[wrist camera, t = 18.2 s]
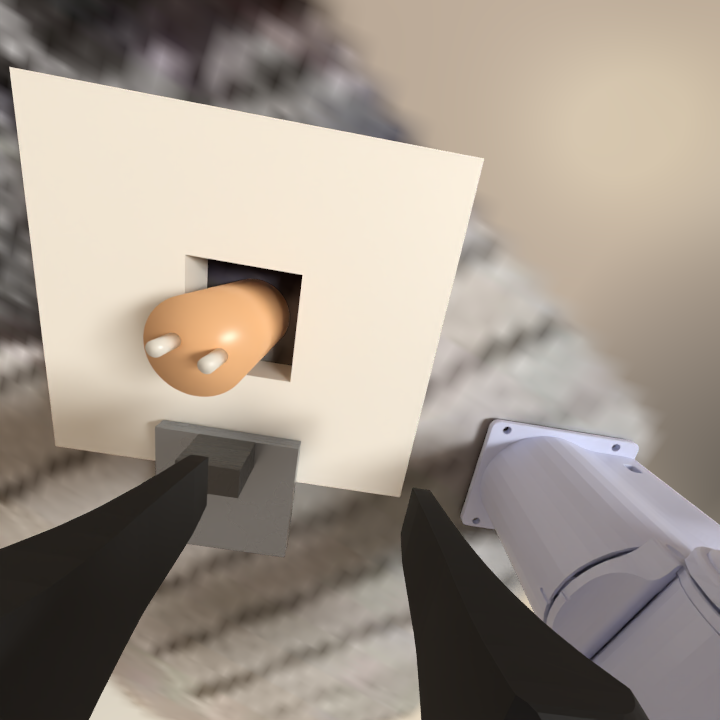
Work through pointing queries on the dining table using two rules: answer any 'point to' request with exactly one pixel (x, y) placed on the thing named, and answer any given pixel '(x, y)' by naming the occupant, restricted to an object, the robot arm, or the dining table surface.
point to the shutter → (237, 484)
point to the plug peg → (214, 335)
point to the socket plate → (242, 246)
